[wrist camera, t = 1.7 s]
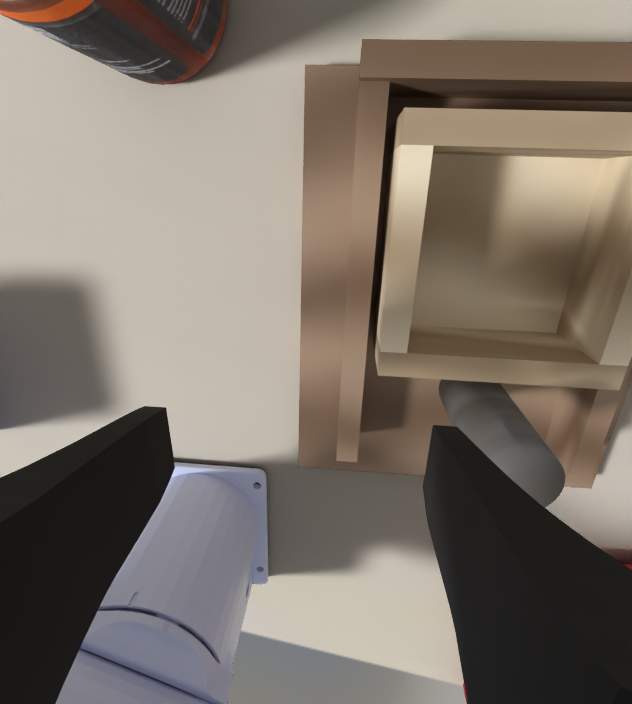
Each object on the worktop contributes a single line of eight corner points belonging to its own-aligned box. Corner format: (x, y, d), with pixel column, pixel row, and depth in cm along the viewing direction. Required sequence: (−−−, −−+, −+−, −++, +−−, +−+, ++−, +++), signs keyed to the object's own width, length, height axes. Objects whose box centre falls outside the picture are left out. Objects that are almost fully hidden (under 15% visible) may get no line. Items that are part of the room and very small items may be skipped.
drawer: (549, 407, 20) (654, 525, 13) (367, 395, 20) (376, 503, 14) (630, 131, 15) (862, 86, 8) (392, 125, 16) (424, 79, 9)
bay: (581, 476, 23) (626, 532, 19) (300, 455, 24) (291, 504, 20) (723, 78, 15) (840, 44, 12) (307, 71, 16) (295, 38, 13)
